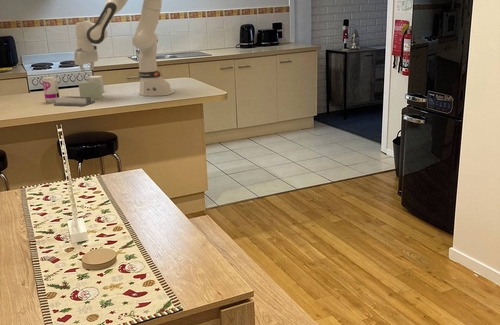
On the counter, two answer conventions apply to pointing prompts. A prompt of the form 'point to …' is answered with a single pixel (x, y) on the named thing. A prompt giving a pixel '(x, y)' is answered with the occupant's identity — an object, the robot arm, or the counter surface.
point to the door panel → (91, 89)
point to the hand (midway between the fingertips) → (87, 70)
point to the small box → (96, 80)
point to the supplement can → (50, 89)
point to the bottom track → (74, 101)
